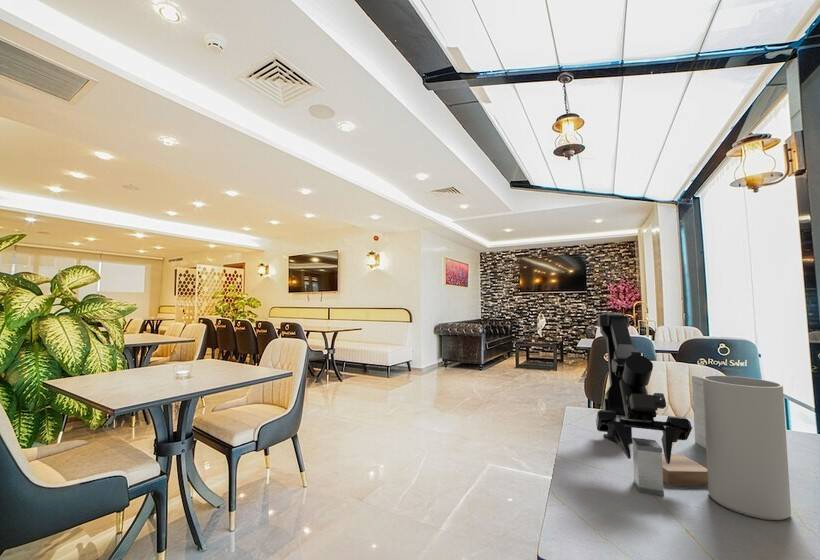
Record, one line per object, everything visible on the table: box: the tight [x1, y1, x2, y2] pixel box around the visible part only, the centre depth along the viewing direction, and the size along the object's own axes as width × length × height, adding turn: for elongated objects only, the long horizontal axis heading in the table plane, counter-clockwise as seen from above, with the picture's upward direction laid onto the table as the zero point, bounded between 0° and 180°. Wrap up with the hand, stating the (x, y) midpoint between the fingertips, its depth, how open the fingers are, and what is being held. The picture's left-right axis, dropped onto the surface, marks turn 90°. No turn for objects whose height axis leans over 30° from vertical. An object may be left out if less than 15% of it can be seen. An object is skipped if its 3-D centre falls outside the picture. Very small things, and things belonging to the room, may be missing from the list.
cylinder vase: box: [703, 375, 792, 521], centre depth 77 cm, size 12×12×25 cm
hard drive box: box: [691, 375, 706, 449], centre depth 104 cm, size 16×8×20 cm, turn 169°
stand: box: [662, 453, 708, 486], centre depth 89 cm, size 10×10×3 cm
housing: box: [631, 437, 665, 497], centre depth 83 cm, size 5×5×10 cm
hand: (648, 460), depth 82 cm, fingers open, 7 cm apart
